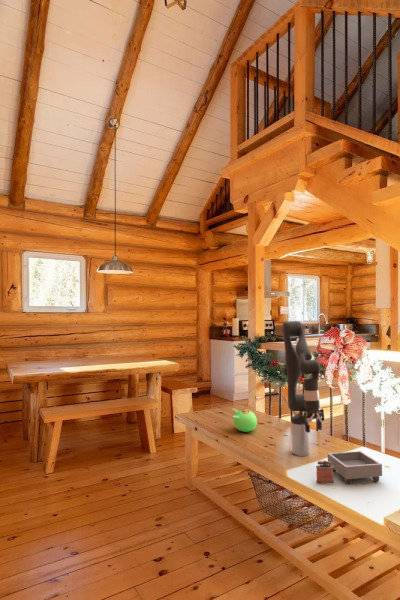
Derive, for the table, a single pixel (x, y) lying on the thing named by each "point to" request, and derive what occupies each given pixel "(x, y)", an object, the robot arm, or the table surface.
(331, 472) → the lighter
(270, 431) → the table surface
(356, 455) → the cart
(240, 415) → the green apple
